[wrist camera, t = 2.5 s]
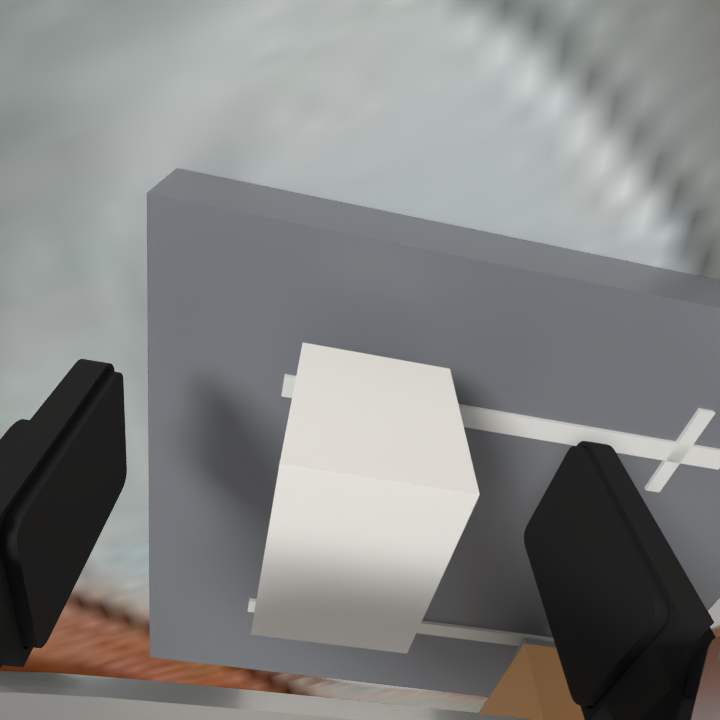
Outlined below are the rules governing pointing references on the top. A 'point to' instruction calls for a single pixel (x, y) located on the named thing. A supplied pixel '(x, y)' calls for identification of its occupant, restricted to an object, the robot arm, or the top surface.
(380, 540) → the fader
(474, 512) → the panel
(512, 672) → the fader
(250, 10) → the top surface
